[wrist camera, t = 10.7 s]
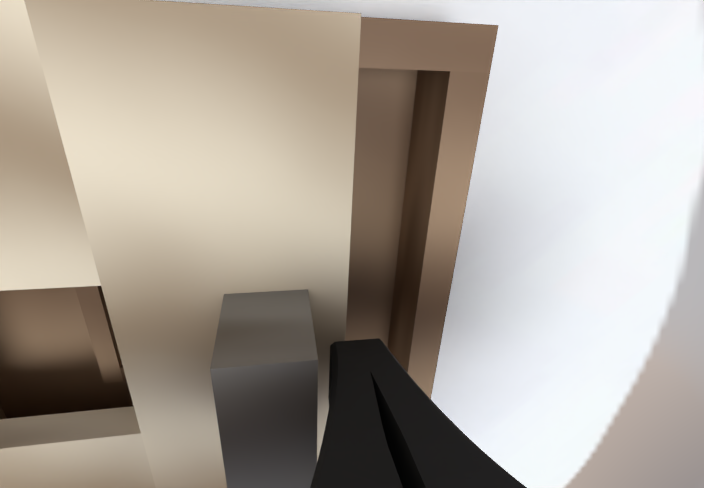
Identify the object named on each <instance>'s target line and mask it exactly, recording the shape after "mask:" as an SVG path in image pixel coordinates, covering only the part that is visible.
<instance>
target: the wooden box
mask: <svg viewBox="0 0 704 488" xmlns="http://www.w3.org/2000/svg"><path fill="white" fill-rule="evenodd" d="M497 30H498V25H483V24H467V23H451V22H434V21H418V20H402V19H385V18H369V17H361V30H360V51H359V71H358V92H357V112H356V133H355V153H354V174H353V194H352V215H351V235H350V256H349V276H348V296H347V317H346V337H345V341H350V340H363V339H376V338H379V339H380V340H382V341H383V343H384V344H385V345H386V347H387V348H388V349H389V350H390V352H391V353H392V354H393V356H394V357H395V358H396V359H397V361H398V362H399V363H400V364H401V366H402V367H403V368H404V369H405V371H406V372H407V373H408V374H409V375H410V377H411V378H412V379H413V380H414V381H415V382H416V384H417V385H418V386H419V387H420V388H421V389H422V390H423V391H424V393H425V394H426V395H427V396H428V397H429V398H430V399H431V393H432V388H433V382H434V377H435V371H436V366H437V360H438V355H439V349H440V344H441V338H442V333H443V327H444V322H445V316H446V311H447V305H448V300H449V294H450V289H451V283H452V278H453V272H454V267H455V261H456V256H457V250H458V245H459V239H460V234H461V228H462V223H463V217H464V212H465V206H466V201H467V195H468V190H469V184H470V179H471V173H472V168H473V162H474V157H475V151H476V146H477V140H478V135H479V129H480V124H481V118H482V113H483V107H484V102H485V96H486V91H487V85H488V80H489V74H490V69H491V63H492V58H493V52H494V47H495V41H496V36H497ZM131 406H133V402H132V398H131V395H130V391H129V387H128V383H127V380H126V376H125V372H124V369H123V365H122V361H121V357H120V354H119V350H118V346H117V343H116V339H115V335H114V332H113V328H112V324H111V320H110V317H109V313H108V309H107V306H106V302H105V298H104V294H103V291H102V287H101V286H85V287H65V288H45V289H25V290H5V291H0V419H9V418H19V417H29V416H40V415H50V414H60V413H70V412H80V411H91V410H101V409H111V408H121V407H131Z"/></svg>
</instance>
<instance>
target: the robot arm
mask: <svg viewBox="0 0 704 488" xmlns="http://www.w3.org/2000/svg"><path fill="white" fill-rule="evenodd" d="M328 399H329V411H328V416H327V421H326V426H325V431H324V436H323V440H322V445H321V449H320V453H319V457H318V461H317V465H316V469H315V472H314V476H313V479H312V483H311V486H310V488H527V487H525V486H524V485H523V484H521V483H520V482H519V481H517V480H516V479H515V478H514V477H512V476H511V475H510V474H509V473H508V472H506V471H505V470H504V469H503V468H502V467H500V466H499V465H498V464H497V463H496V462H494V461H493V460H492V459H491V458H490V457H489V456H488V455H487V454H485V453H484V452H483V451H482V450H481V449H480V448H479V447H478V446H476V445H475V444H474V443H473V442H472V441H471V440H470V439H469V438H468V437H467V436H466V435H465V434H464V433H463V432H462V431H461V430H460V429H459V428H458V427H457V426H456V425H455V424H454V423H453V422H452V421H451V420H450V419H449V418H448V417H447V416H446V415H445V414H444V413H443V412H442V411H441V410H440V409H439V408H438V407H437V406H436V405H435V404H434V403H433V402H432V400H431V399H430V398H429V397H428V396H427V395H426V394H425V393H424V391H423V390H422V389H421V388H420V387H419V386H418V385H417V384H416V382H415V381H414V380H413V379H412V378H411V377H410V375H409V374H408V373H407V372H406V371H405V369H404V368H403V367H402V366H401V364H400V363H399V362H398V361H397V359H396V358H395V357H394V356H393V354H392V353H391V352H390V350H389V349H388V348H387V347H386V345H385V344H384V343H383V341H382V340H380V339H379V338H376V339H363V340H350V341H337V342H334V343H333V344H331V345H330V366H329V395H328Z"/></svg>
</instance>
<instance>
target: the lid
mask: <svg viewBox="0 0 704 488" xmlns="http://www.w3.org/2000/svg"><path fill="white" fill-rule="evenodd" d="M360 30H361V13H346V12H330V11H314V10H298V9H283V8H267V7H251V6H235V5H219V4H203V3H187V2H171V1H155V0H0V291H5V290H25V289H45V288H65V287H85V286H101V287H102V291H103V294H104V298H105V302H106V306H107V309H108V313H109V317H110V320H111V324H112V328H113V332H114V335H115V339H116V343H117V346H118V350H119V354H120V357H121V361H122V365H123V369H124V372H125V376H126V380H127V383H128V387H129V391H130V395H131V398H132V402H133V406H131V407H121V408H111V409H101V410H91V411H80V412H70V413H60V414H50V415H40V416H29V417H19V418H9V419H0V488H310V486H311V483H312V479H313V476H314V472H315V469H316V465H317V461H318V457H319V453H320V449H321V445H322V440H323V436H324V431H325V426H326V421H327V416H328V411H329V399H328V395H329V366H330V345H331V344H333V343H334V342H337V341H345V337H346V317H347V296H348V276H349V256H350V235H351V215H352V194H353V174H354V153H355V133H356V112H357V92H358V71H359V51H360Z"/></svg>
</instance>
